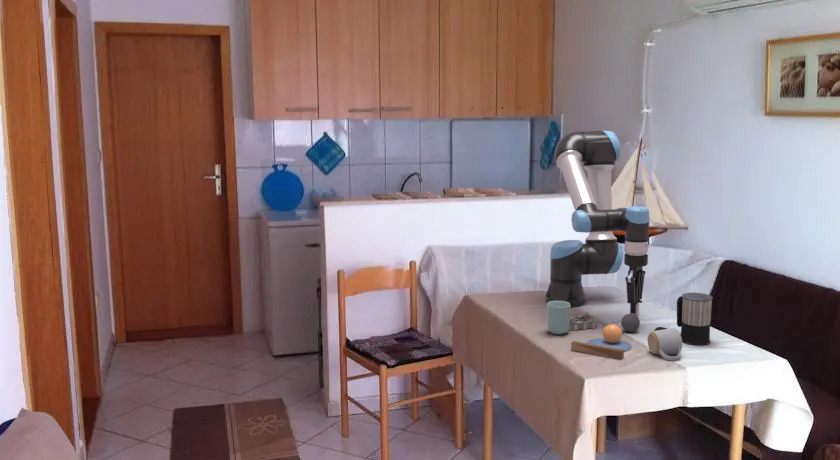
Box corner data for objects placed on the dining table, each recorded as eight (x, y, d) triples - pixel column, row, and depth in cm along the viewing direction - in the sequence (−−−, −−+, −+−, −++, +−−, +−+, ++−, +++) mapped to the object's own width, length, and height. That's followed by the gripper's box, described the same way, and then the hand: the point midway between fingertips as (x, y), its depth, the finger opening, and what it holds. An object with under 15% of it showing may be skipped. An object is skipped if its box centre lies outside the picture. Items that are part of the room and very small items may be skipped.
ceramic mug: (645, 350, 236) (646, 326, 234) (670, 348, 237) (671, 324, 236) (662, 362, 225) (663, 337, 224) (687, 360, 227) (689, 335, 225)
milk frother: (717, 342, 242) (719, 296, 240) (683, 351, 234) (685, 304, 232) (680, 331, 254) (682, 287, 252) (647, 339, 246) (648, 294, 244)
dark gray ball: (622, 308, 255) (617, 324, 252) (640, 312, 252) (636, 328, 249) (625, 316, 259) (620, 332, 257) (642, 320, 257) (638, 336, 254)
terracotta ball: (600, 323, 242) (598, 342, 242) (619, 326, 239) (617, 345, 239) (607, 322, 247) (605, 341, 247) (625, 325, 244) (623, 344, 244)
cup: (569, 336, 250) (570, 307, 249) (545, 335, 252) (546, 306, 250) (570, 329, 258) (570, 301, 256) (546, 328, 259) (547, 300, 258)
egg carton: (588, 323, 266) (589, 311, 266) (599, 329, 259) (599, 317, 258) (560, 325, 264) (560, 314, 263) (570, 332, 256) (570, 320, 256)
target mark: (596, 336, 250) (596, 335, 250) (638, 343, 243) (638, 342, 243) (578, 347, 239) (578, 347, 239) (622, 355, 231) (622, 355, 231)
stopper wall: (573, 348, 238) (573, 340, 238) (623, 357, 229) (624, 349, 229) (571, 350, 237) (571, 342, 236) (621, 359, 228) (621, 351, 227)
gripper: (640, 257, 248) (638, 328, 252) (653, 251, 258) (651, 318, 262) (618, 255, 252) (616, 324, 256) (632, 248, 263) (630, 315, 266)
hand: (634, 321), depth 259 cm, fingers closed
